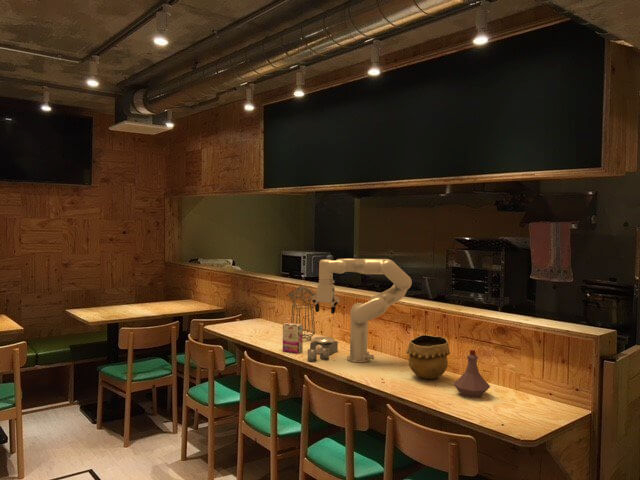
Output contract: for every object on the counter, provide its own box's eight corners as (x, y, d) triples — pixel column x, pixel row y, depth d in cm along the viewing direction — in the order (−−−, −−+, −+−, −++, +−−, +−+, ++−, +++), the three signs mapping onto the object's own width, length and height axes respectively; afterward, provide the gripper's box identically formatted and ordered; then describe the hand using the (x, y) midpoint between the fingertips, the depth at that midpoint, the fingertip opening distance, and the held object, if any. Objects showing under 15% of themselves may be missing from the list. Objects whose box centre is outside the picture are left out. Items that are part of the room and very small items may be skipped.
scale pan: (337, 340, 312) (337, 338, 312) (328, 344, 301) (328, 342, 301) (319, 337, 317) (319, 335, 317) (310, 341, 306) (310, 339, 306)
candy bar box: (302, 352, 308) (303, 324, 308) (298, 354, 304) (299, 325, 303) (286, 349, 313) (287, 322, 313) (282, 351, 309) (282, 323, 308)
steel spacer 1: (318, 360, 291) (318, 349, 291) (313, 362, 286) (314, 351, 286) (310, 359, 293) (310, 348, 293) (305, 361, 289) (306, 350, 288)
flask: (474, 403, 227) (476, 357, 226) (444, 392, 240) (446, 349, 240) (498, 396, 237) (499, 352, 236) (468, 386, 250) (469, 344, 249)
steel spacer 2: (330, 358, 295) (330, 348, 295) (326, 360, 291) (326, 349, 290) (322, 357, 297) (322, 346, 297) (318, 359, 293) (318, 348, 293)
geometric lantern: (318, 341, 336) (319, 287, 334) (295, 344, 329) (296, 288, 327) (308, 336, 350) (308, 283, 348) (286, 338, 343) (286, 285, 341)
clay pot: (436, 387, 247) (437, 345, 246) (397, 378, 261) (398, 338, 260) (457, 378, 263) (458, 338, 262) (419, 369, 277) (420, 331, 276)
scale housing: (337, 351, 312) (337, 341, 312) (328, 356, 301) (328, 345, 300) (319, 348, 317) (319, 338, 317) (309, 353, 306) (309, 342, 306)
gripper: (342, 282, 292) (342, 313, 293) (315, 280, 300) (314, 310, 300) (337, 283, 285) (336, 315, 286) (308, 281, 293) (308, 312, 294)
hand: (325, 312), depth 293 cm, fingers open, 9 cm apart
